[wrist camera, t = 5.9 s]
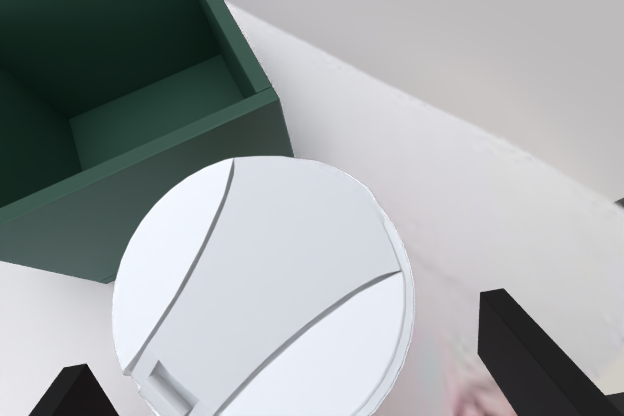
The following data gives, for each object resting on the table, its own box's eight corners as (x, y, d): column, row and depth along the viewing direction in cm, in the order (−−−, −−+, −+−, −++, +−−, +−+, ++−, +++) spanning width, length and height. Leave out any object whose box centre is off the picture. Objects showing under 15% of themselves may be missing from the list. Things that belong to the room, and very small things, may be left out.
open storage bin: (302, 189, 24) (279, 98, 15) (106, 284, 22) (-56, 249, 13) (229, 51, 29) (178, -81, 20) (65, 122, 27) (-72, 16, 18)
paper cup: (321, 415, 19) (280, 603, 6) (221, 327, 21) (21, 318, 8) (396, 298, 21) (495, 238, 8) (297, 229, 23) (241, 87, 10)
